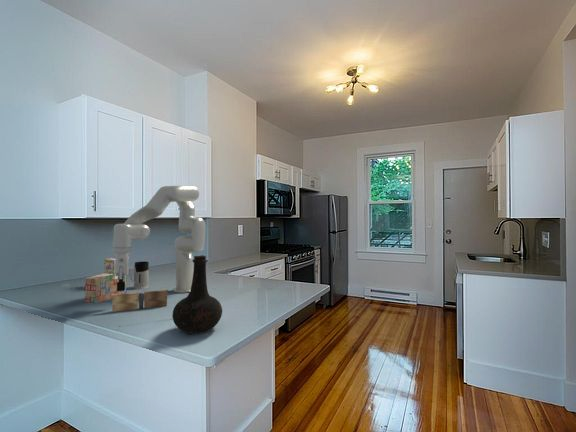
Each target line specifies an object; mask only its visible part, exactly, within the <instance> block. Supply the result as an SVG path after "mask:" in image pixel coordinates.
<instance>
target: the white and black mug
mask: <svg viewBox="0 0 576 432" xmlns="http://www.w3.org/2000/svg"><path fill="white" fill-rule="evenodd" d="M132 268H133V270H134V271H133V272H134V273H133V275H134V276H133V278H132V273H131V271H132ZM149 272H150V268H149V261H136V262H134V266H133V265H132V266H130V267H129V269H128V276H129V278H130V281H132V282H133V290H134V289H135V290H143V289H149V288H150V284H149V282H150V281H149V279H150V277H149V275H150V273H149Z"/></svg>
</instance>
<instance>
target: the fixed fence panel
mask: <svg viewBox="0 0 576 432" xmlns="http://www.w3.org/2000/svg"><path fill="white" fill-rule="evenodd" d="M167 306H168V290H167V289H158V290H149V291H144V292H139V294H138V310H143V309H150V308H151V309H153V308H160V307H167Z"/></svg>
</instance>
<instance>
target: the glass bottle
mask: <svg viewBox="0 0 576 432" xmlns="http://www.w3.org/2000/svg"><path fill="white" fill-rule="evenodd" d="M192 262H194V263H193V279H192V285H191V290H190V292H188V294H187V296H186V297H184V298H182V299H180V300H179V301H178V302H177V303H176V304H175V306H174V307H173V311H172V316H171V317H172V320H173V321H172V322H173V323H174V325H175V327H177V329H179V331H182V332H184V333H188V334H203V333H207V332H209V331H211V330H212V329H214V328H215V326H216V325H217V324H218V323H219V322H220V320H221V317H222V316H223V307H222V304H221V303H220V301H219V300H218V299H217V298H215V297H213V296H211V295H210V293H209V291H208V290H209V289H208V284H207V263H208V262H209V260H208V259H207V256H206V255H195V256H194V255H193V260H192Z"/></svg>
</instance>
